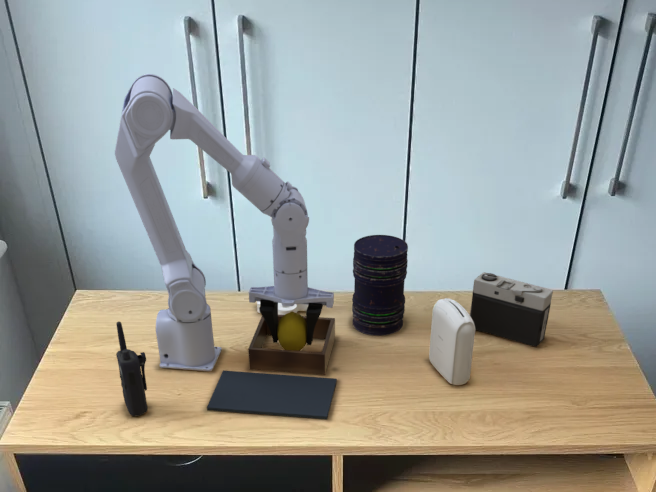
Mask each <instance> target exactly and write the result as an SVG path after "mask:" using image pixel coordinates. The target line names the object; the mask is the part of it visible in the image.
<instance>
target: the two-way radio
mask: <svg viewBox="0 0 656 492" xmlns="http://www.w3.org/2000/svg"><path fill="white" fill-rule="evenodd" d="M116 331H117V338H118V344H119V350H117V351H116V355H115V356H116V359H117V365H118V372H119V379H120V384H121V388H122V395H123V400H124V404H125V407H126V409H127V412H128V414H129V415H130V416H132V417H140V416H143V415H144V414H145V413H146V412H147V411H148V403H147V396H146V391H148V387H147V386H148V385H147V380H146V370H145V369H146V368H145V367H146V362H147V356H146V353H145V352H144V351H142V352H140V353H139V354H137V353H136V352H135V351H134V350H131V349H129V348H127V343H126V337H125V333H124V328H123V324H122V322H121V321H117V322H116Z"/></svg>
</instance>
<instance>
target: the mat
mask: <svg viewBox="0 0 656 492" xmlns="http://www.w3.org/2000/svg"><path fill="white" fill-rule="evenodd" d="M337 382H338V380H337V378H334V377H319V376H309V375H308V376H307V375H293V374H281V373H280V374H277V373H265V372H264V373H263V372H251V371H238V370H236V371H235V370H222V371H221V374H220V376H219V379H218V380H217V383H216V385H215V387H214V390H213V392H212V395H211V397H210V399H209V401H208V403H207V406H206V411H211V412H225V413H239V414H251V415H261V416H262V415H263V416H264V415H265V416H277V417H289V418H303V419H315V420H316V419H317V420H328V419H329V414H330V410H331V407H332V401H333V398H334V394H335V390H336V387H337Z"/></svg>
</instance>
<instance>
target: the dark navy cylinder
mask: <svg viewBox="0 0 656 492" xmlns="http://www.w3.org/2000/svg"><path fill="white" fill-rule="evenodd" d="M408 252H409V244H408V243H407V241H405V240H404V239H402V238H400V237H397V236H395V235H394V236H393V235H388V234H371V235H366V236H362V237H360V238H358V239H357V240H355V241H354V244H353V258H352V267H353V269H352V273H353V275H352V277H353V278H354V288H353V289H354V292H353V294H352V297H351V301H352V306H351V311H352V326H353V328H354V329H355V330H356V331H358V332H359V333H361V334H365V335H368V336H375V337H376V336H377V337H381V336H382V337H383V336H390V335H393V334H396V333H398V332H399V331H401V330H402V328H403V327H404V316H405V315H404V314H405V310H406V309H405V308H406V307H405V306H406V305H405V304H406V296H405V282H406V281H405V280H406V279H407V274H408V261H409V260H408Z"/></svg>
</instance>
